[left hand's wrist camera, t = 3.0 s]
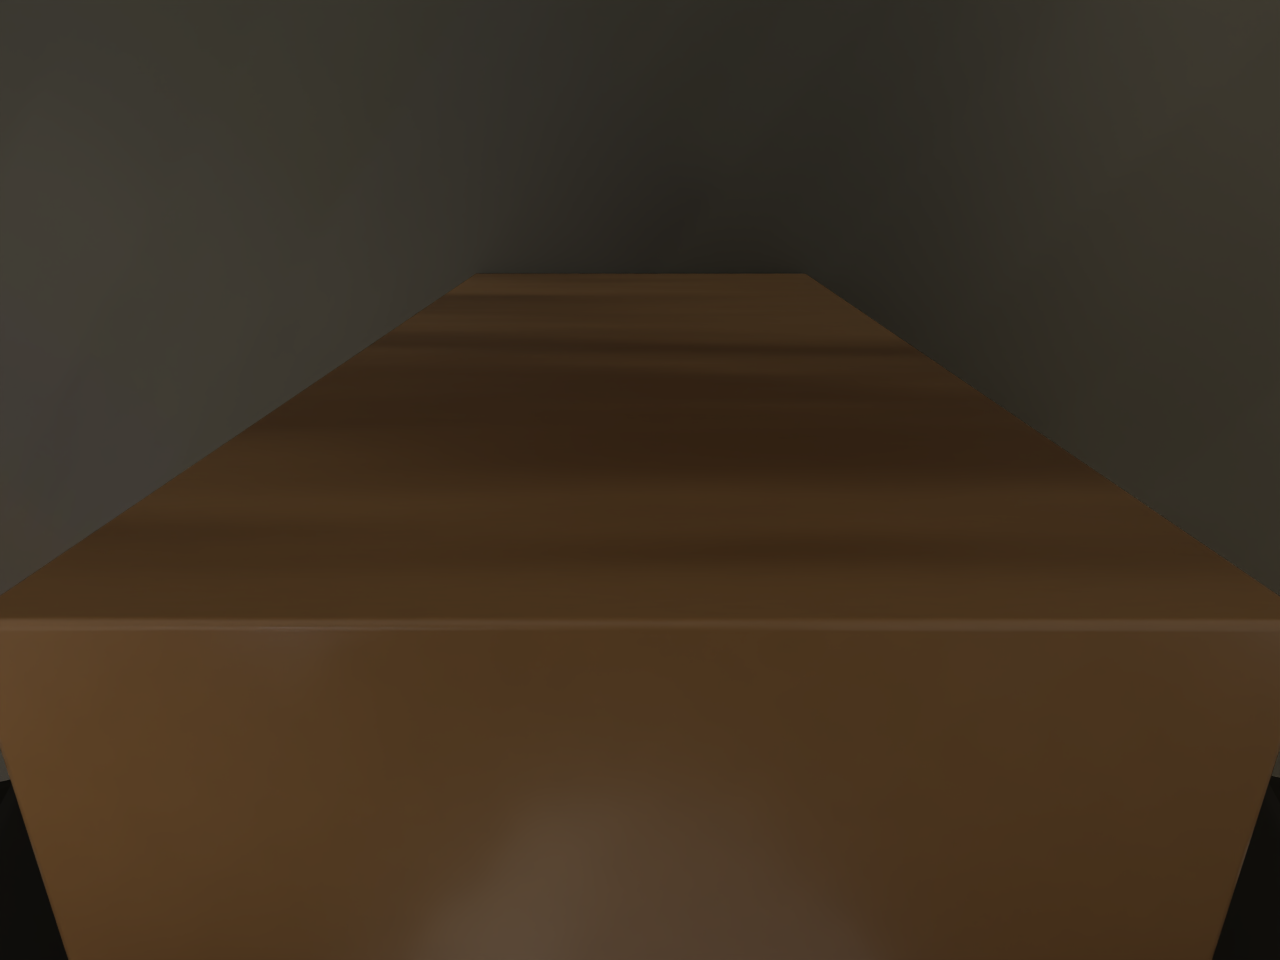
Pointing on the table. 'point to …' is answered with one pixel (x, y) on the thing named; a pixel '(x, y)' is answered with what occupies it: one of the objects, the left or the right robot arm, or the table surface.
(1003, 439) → the box
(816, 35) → the table surface
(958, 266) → the table surface
